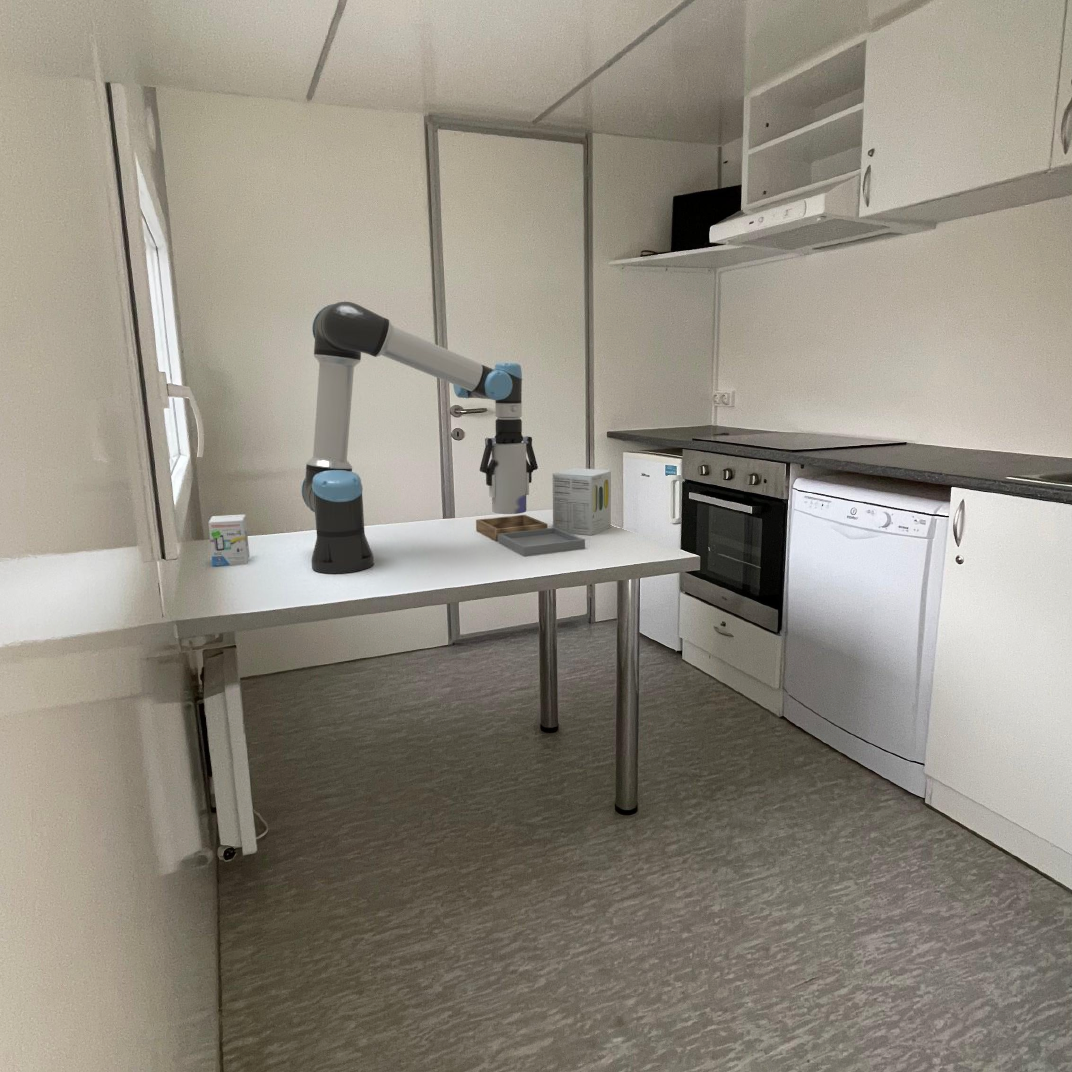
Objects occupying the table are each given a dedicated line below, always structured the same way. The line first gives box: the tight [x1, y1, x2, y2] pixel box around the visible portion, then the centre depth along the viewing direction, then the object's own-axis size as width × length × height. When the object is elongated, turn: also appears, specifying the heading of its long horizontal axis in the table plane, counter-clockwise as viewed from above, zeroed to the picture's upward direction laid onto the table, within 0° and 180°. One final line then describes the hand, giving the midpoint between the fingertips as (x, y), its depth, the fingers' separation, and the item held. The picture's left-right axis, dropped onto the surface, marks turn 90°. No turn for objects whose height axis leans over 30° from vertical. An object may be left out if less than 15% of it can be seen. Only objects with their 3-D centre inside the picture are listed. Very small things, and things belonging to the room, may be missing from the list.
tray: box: [497, 526, 586, 557], centre depth 213 cm, size 18×18×2 cm
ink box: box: [207, 514, 250, 567], centre depth 201 cm, size 9×8×12 cm
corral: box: [475, 514, 549, 543], centre depth 229 cm, size 16×16×4 cm
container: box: [491, 441, 527, 515], centre depth 225 cm, size 10×10×20 cm
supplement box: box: [552, 467, 612, 536], centre depth 231 cm, size 13×13×18 cm
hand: (509, 495), depth 226 cm, fingers closed on container, 10 cm apart
